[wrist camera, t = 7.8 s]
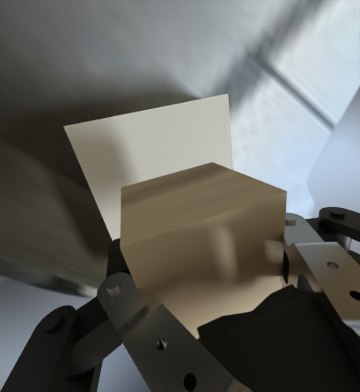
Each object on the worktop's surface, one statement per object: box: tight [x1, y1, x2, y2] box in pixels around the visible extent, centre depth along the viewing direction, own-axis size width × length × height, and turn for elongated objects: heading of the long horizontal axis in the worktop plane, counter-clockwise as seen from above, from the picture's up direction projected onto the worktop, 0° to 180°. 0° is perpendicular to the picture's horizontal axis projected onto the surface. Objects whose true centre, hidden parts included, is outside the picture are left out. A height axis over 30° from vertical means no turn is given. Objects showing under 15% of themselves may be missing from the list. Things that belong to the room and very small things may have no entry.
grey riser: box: [64, 94, 233, 241], centre depth 21 cm, size 18×14×5 cm
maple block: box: [120, 162, 287, 339], centre depth 10 cm, size 6×6×6 cm
